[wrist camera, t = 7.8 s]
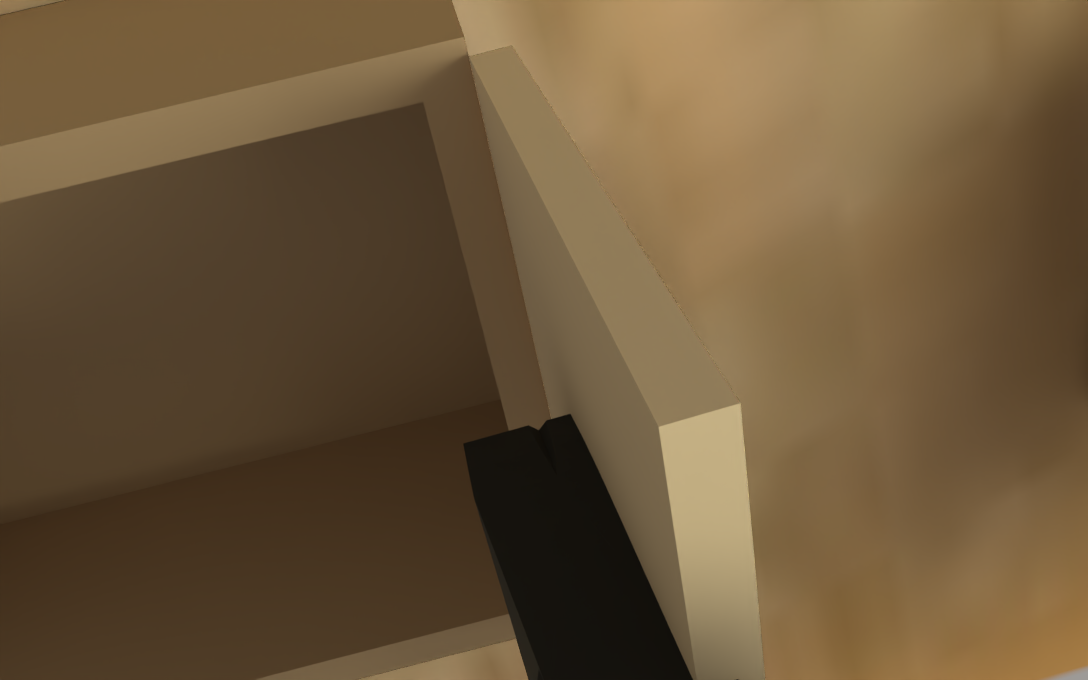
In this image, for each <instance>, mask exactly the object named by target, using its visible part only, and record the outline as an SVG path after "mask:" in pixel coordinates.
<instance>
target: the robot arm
mask: <svg viewBox="0 0 1088 680" xmlns="http://www.w3.org/2000/svg"><path fill="white" fill-rule="evenodd" d="M463 446H464V451H465V456H466V461H467V466H468V472H469V476H470V481H471V486H472V491H473V496H474V500H475V503H476V507H477V510H478V513H479V517H480V520H481V523H482V527H483V530H484V533H485V536H486V540H487V543H488V546H489V550H490V553H491V556H492V560H493V563H494V566H495V570H496V573H497V576H498V580H499V583H500V586H501V590H502V593H503V596H504V599H505V603H506V606H507V609H508V613H509V616H510V619H511V623H512V626H513V629H514V633H515V636H516V639H517V643H518V646H519V649H520V653H521V656H522V659H523V662H524V666H525V669H526V672H527V676H528V679H529V680H693V678H692V676H691V674H690V672H689V670H688V667H687V665H686V663H685V661H684V659H683V656H682V654H681V652H680V650H679V648H678V645H677V643H676V641H675V639H674V637H673V634H672V632H671V630H670V628H669V625H668V623H667V621H666V619H665V617H664V614H663V612H662V610H661V608H660V605H659V603H658V601H657V599H656V597H655V594H654V592H653V590H652V588H651V585H650V583H649V581H648V579H647V576H646V574H645V572H644V570H643V568H642V565H641V563H640V561H639V559H638V556H637V554H636V552H635V550H634V547H633V545H632V543H631V541H630V539H629V536H628V534H627V532H626V530H625V527H624V525H623V523H622V521H621V518H620V516H619V514H618V512H617V510H616V507H615V505H614V503H613V501H612V499H611V496H610V494H609V492H608V490H607V488H606V485H605V483H604V481H603V479H602V477H601V475H600V472H599V470H598V468H597V466H596V464H595V462H594V460H593V458H592V455H591V453H590V451H589V449H588V447H587V445H586V443H585V441H584V439H583V437H582V435H581V433H580V431H579V429H578V427H577V425H576V423H575V421H574V420H573V418H572V416H571V414H567V415H564V416H560V417H557V418H553V419H549V420H546V421H545V423H544V424H543V425H542V427H541V428H540V429H539V430H537V429H535V428H533V427H531V426H529V425H528V426H524V427H521V428H517V429H513V430H510V431H506V432H503V433H499V434H495V435H492V436H488V437H485V438H481V439H477V440H474V441H470V442H467V443H463ZM736 680H738V679H736Z"/></svg>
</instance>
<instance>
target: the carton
mask: <svg viewBox="0 0 1088 680" xmlns="http://www.w3.org/2000/svg"><path fill="white" fill-rule="evenodd" d="M549 419H551V416H550V412H549V408H548V403H547V399H546V394H545V390H544V386H543V381H542V377H541V372H540V368H539V364H538V359H537V355H536V351H535V346H534V342H533V337H532V333H531V329H530V324H529V320H528V315H527V311H526V307H525V302H524V298H523V293H522V289H521V285H520V280H519V276H518V272H517V267H516V263H515V258H514V254H513V250H512V245H511V241H510V236H509V232H508V228H507V223H506V219H505V214H504V210H503V206H502V201H501V197H500V193H499V188H498V184H497V179H496V175H495V171H494V166H493V162H492V157H491V153H490V149H489V144H488V140H487V135H486V131H485V127H484V122H483V118H482V113H481V109H480V105H479V100H478V96H477V92H476V87H475V83H474V78H473V74H472V70H471V65H470V61H469V56H468V52H467V48H466V43H465V39H464V35H463V32H462V29H461V26H460V24H459V21H458V18H457V15H456V12H455V9H454V6H453V3H452V0H66V1H62V2H57V3H53V4H49V5H44V6H40V7H36V8H31V9H27V10H23V11H18V12H14V13H10V14H5V15H1V16H0V680H358V679H361V678H365V677H369V676H373V675H377V674H381V673H385V672H388V671H392V670H396V669H400V668H404V667H408V666H411V665H415V664H419V663H423V662H427V661H431V660H435V659H438V658H442V657H446V656H450V655H454V654H458V653H462V652H465V651H469V650H473V649H477V648H481V647H485V646H489V645H492V644H496V643H500V642H504V641H508V640H512V639H516V636H515V633H514V629H513V626H512V623H511V619H510V616H509V613H508V609H507V606H506V603H505V599H504V596H503V593H502V590H501V586H500V583H499V580H498V576H497V573H496V570H495V566H494V563H493V560H492V556H491V553H490V550H489V546H488V543H487V540H486V536H485V533H484V530H483V527H482V523H481V520H480V517H479V513H478V510H477V507H476V503H475V500H474V496H473V491H472V486H471V481H470V476H469V472H468V466H467V461H466V456H465V451H464V446H463V443H467V442H470V441H474V440H477V439H481V438H485V437H488V436H492V435H495V434H499V433H503V432H506V431H510V430H513V429H517V428H521V427H524V426H528V425H529V426H531V427H533V428H535V429H537V430H539V429H540V428H541V427H542V425H543V424H544V423H545V421H546V420H549Z"/></svg>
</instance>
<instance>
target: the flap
mask: <svg viewBox="0 0 1088 680" xmlns="http://www.w3.org/2000/svg"><path fill="white" fill-rule="evenodd" d="M469 59H470V63H471V68H472V72H473V77H474V81H475V85H476V90H477V94H478V99H479V103H480V107H481V112H482V116H483V121H484V125H485V129H486V134H487V138H488V143H489V147H490V151H491V156H492V160H493V165H494V169H495V173H496V178H497V182H498V187H499V191H500V195H501V200H502V204H503V208H504V213H505V217H506V222H507V226H508V230H509V235H510V239H511V244H512V248H513V252H514V257H515V261H516V266H517V270H518V274H519V279H520V283H521V288H522V292H523V296H524V301H525V305H526V310H527V314H528V318H529V323H530V327H531V332H532V336H533V340H534V345H535V349H536V354H537V358H538V362H539V367H540V371H541V375H542V380H543V384H544V389H545V393H546V397H547V402H548V406H549V411H550V415H551V419H553V418H557V417H560V416H564V415H567V414H571V416H572V418H573V420H574V421H575V423H576V425H577V427H578V429H579V431H580V433H581V435H582V437H583V439H584V441H585V443H586V445H587V447H588V449H589V451H590V453H591V455H592V458H593V460H594V462H595V464H596V466H597V468H598V470H599V472H600V475H601V477H602V479H603V481H604V483H605V485H606V488H607V490H608V492H609V494H610V496H611V499H612V501H613V503H614V505H615V507H616V510H617V512H618V514H619V516H620V518H621V521H622V523H623V525H624V527H625V530H626V532H627V534H628V536H629V539H630V541H631V543H632V545H633V547H634V550H635V552H636V554H637V556H638V559H639V561H640V563H641V565H642V568H643V570H644V572H645V574H646V576H647V579H648V581H649V583H650V585H651V588H652V590H653V592H654V594H655V597H656V599H657V601H658V603H659V605H660V608H661V610H662V612H663V614H664V617H665V619H666V621H667V623H668V625H669V628H670V630H671V632H672V634H673V637H674V639H675V641H676V643H677V645H678V648H679V650H680V652H681V654H682V656H683V659H684V661H685V663H686V665H687V667H688V670H689V672H690V674H691V676H692V678H693V680H736V679H738V680H765V672H764V660H763V649H762V638H761V627H760V616H759V604H758V593H757V582H756V571H755V559H754V548H753V537H752V526H751V515H750V503H749V492H748V481H747V470H746V458H745V447H744V436H743V425H742V414H741V403H740V401H739V400H738V398H737V397H736V395H735V394H734V392H733V391H732V389H731V387H730V386H729V384H728V383H727V381H726V380H725V378H724V376H723V375H722V373H721V372H720V370H719V369H718V367H717V365H716V364H715V362H714V361H713V359H712V358H711V356H710V355H709V353H708V351H707V350H706V348H705V347H704V345H703V344H702V342H701V340H700V339H699V337H698V336H697V334H696V333H695V331H694V330H693V328H692V326H691V325H690V323H689V322H688V320H687V319H686V317H685V315H684V314H683V312H682V311H681V309H680V308H679V306H678V304H677V303H676V301H675V300H674V298H673V297H672V295H671V294H670V292H669V290H668V289H667V287H666V286H665V284H664V283H663V281H662V279H661V278H660V276H659V275H658V273H657V272H656V270H655V269H654V267H653V265H652V264H651V262H650V261H649V259H648V258H647V256H646V254H645V253H644V251H643V250H642V248H641V247H640V245H639V243H638V242H637V240H636V239H635V237H634V236H633V234H632V233H631V231H630V229H629V228H628V226H627V225H626V223H625V222H624V220H623V218H622V217H621V215H620V214H619V212H618V211H617V209H616V207H615V206H614V204H613V203H612V201H611V200H610V198H609V197H608V195H607V193H606V192H605V190H604V189H603V187H602V186H601V184H600V182H599V181H598V179H597V178H596V176H595V175H594V173H593V172H592V170H591V168H590V167H589V165H588V164H587V162H586V161H585V159H584V157H583V156H582V154H581V153H580V151H579V150H578V148H577V146H576V145H575V143H574V142H573V140H572V139H571V137H570V136H569V134H568V132H567V131H566V129H565V128H564V126H563V125H562V123H561V121H560V120H559V118H558V117H557V115H556V114H555V112H554V111H553V109H552V107H551V106H550V104H549V103H548V101H547V100H546V98H545V96H544V95H543V93H542V92H541V90H540V89H539V87H538V85H537V84H536V82H535V81H534V79H533V78H532V76H531V75H530V73H529V71H528V70H527V68H526V67H525V65H524V64H523V62H522V60H521V59H520V57H519V56H518V54H517V53H516V51H515V50H514V48H513V46H508V47H504V48H500V49H496V50H492V51H489V52H485V53H481V54H477V55H473V56H469Z"/></svg>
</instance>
